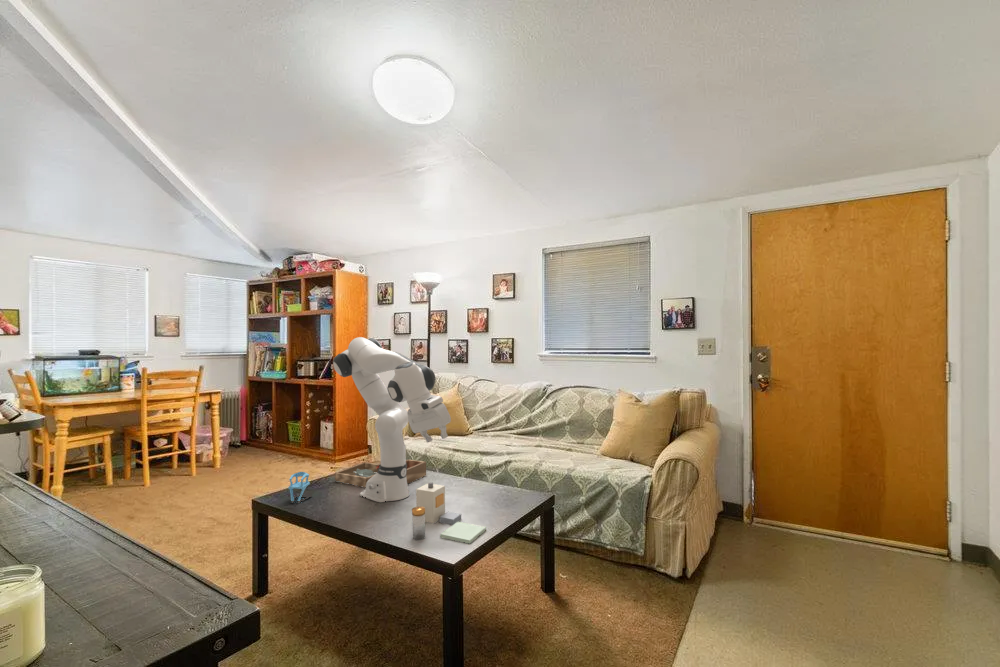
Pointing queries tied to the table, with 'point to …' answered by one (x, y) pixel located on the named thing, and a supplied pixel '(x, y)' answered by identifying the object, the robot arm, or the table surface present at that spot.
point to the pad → (463, 532)
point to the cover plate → (450, 518)
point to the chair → (298, 484)
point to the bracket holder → (415, 470)
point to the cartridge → (418, 523)
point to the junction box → (431, 501)
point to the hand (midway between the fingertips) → (437, 439)
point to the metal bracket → (364, 473)
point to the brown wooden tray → (349, 475)
